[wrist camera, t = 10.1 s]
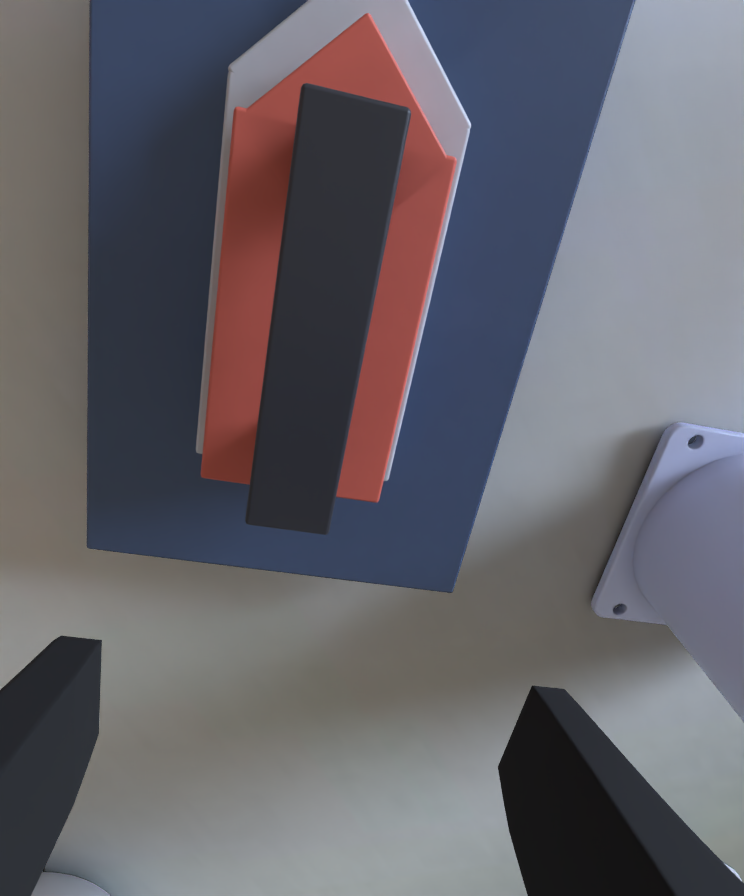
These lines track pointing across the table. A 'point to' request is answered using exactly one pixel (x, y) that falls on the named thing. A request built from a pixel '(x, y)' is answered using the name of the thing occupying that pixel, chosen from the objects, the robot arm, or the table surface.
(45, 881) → the black egg-shaped figure
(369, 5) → the iron
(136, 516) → the ironing board
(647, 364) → the table surface
